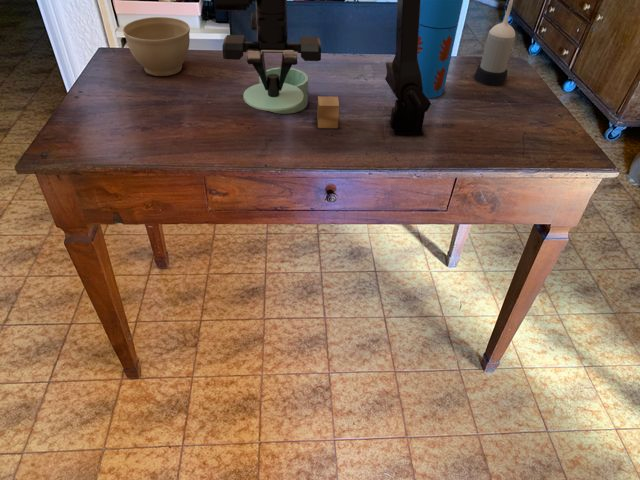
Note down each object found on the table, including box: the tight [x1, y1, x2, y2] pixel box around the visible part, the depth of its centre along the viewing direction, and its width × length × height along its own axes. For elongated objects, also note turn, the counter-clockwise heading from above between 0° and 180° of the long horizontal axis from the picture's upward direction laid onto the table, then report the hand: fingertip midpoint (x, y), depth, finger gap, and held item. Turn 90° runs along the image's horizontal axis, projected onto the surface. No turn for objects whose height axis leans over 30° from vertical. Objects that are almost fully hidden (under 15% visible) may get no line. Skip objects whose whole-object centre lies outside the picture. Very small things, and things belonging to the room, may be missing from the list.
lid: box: [242, 74, 304, 112], centre depth 103 cm, size 12×12×5 cm
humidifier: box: [474, 0, 516, 87], centre depth 129 cm, size 8×8×25 cm
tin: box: [258, 66, 309, 115], centre depth 120 cm, size 11×11×6 cm
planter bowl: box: [122, 16, 191, 77], centre depth 130 cm, size 16×16×11 cm
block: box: [316, 95, 340, 129], centre depth 113 cm, size 4×4×6 cm
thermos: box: [417, 0, 464, 99], centre depth 122 cm, size 11×11×25 cm
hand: (273, 89), depth 103 cm, fingers closed on lid, 2 cm apart
